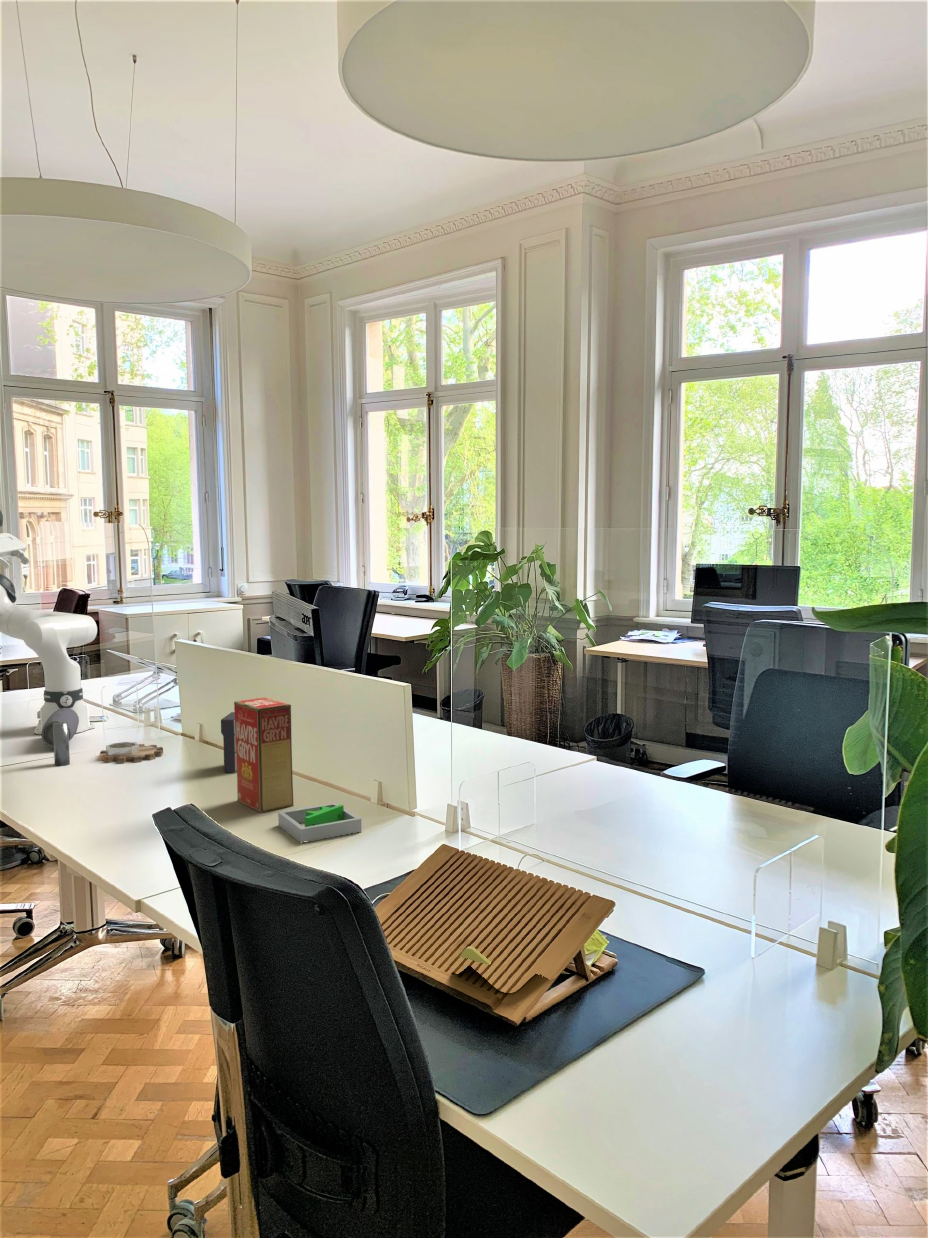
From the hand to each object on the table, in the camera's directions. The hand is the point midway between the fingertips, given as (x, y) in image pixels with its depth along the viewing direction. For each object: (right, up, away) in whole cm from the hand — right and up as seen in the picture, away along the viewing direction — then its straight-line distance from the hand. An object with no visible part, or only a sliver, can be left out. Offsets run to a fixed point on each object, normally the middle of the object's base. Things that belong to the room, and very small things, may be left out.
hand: (18, 564), depth 267 cm
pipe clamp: (+102, -63, -68) cm, 138 cm away
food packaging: (+85, -61, -49) cm, 116 cm away
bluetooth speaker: (+6, -56, +15) cm, 58 cm away
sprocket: (+34, -57, -1) cm, 67 cm away
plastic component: (+141, -69, -132) cm, 205 cm away
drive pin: (+18, -58, -11) cm, 62 cm away
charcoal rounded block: (+69, -58, -16) cm, 92 cm away
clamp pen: (+101, -63, -68) cm, 137 cm away
